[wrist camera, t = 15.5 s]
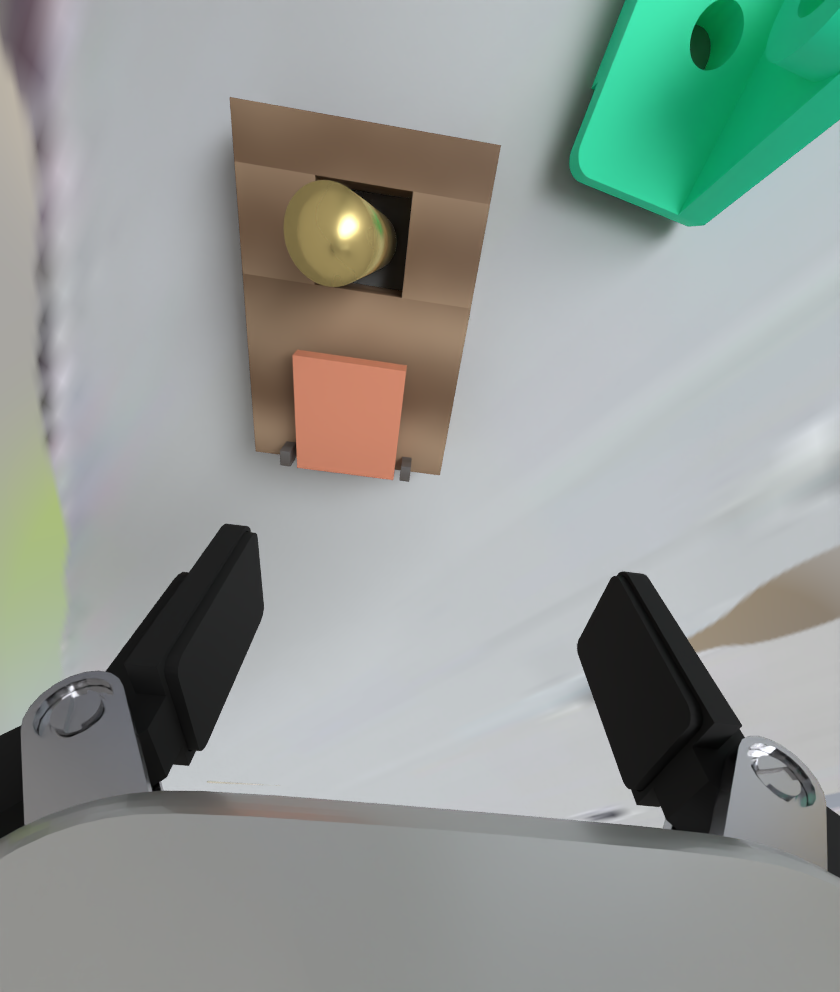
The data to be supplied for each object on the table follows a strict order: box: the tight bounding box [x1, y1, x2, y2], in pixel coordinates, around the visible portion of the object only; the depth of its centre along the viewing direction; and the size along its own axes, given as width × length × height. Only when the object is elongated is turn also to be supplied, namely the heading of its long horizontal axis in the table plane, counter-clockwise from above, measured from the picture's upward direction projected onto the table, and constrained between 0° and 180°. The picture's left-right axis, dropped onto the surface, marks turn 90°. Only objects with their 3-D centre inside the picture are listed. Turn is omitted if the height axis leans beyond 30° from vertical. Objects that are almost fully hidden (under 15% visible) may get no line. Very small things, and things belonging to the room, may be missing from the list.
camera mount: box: [569, 0, 840, 227], centre depth 16 cm, size 12×8×10 cm, turn 163°
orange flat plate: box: [292, 350, 407, 480], centre depth 24 cm, size 7×6×1 cm
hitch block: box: [230, 97, 501, 482], centre depth 24 cm, size 17×12×5 cm
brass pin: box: [284, 180, 397, 287], centre depth 19 cm, size 3×3×12 cm
